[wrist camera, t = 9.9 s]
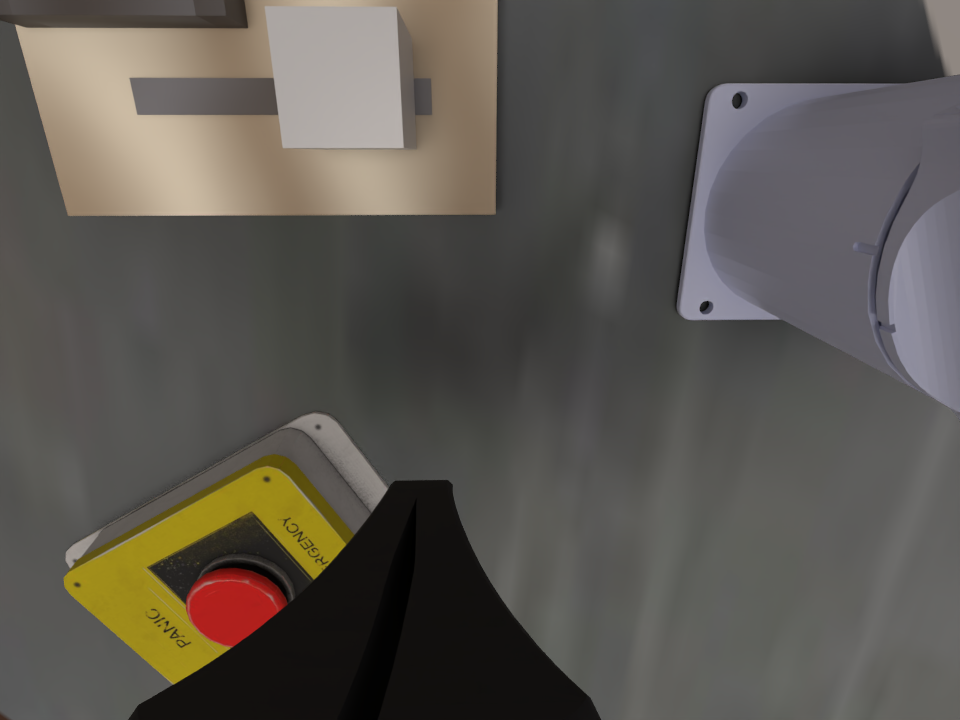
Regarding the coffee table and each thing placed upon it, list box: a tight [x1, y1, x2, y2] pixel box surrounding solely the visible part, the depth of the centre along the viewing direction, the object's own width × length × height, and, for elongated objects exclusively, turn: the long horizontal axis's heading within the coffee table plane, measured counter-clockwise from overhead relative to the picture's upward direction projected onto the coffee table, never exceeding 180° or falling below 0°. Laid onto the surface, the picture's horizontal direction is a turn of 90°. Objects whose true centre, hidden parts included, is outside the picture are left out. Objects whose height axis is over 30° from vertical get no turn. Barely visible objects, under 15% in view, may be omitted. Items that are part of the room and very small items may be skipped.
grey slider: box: [265, 6, 417, 150], centre depth 14 cm, size 3×3×4 cm
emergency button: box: [64, 411, 389, 685], centre depth 23 cm, size 9×4×15 cm
